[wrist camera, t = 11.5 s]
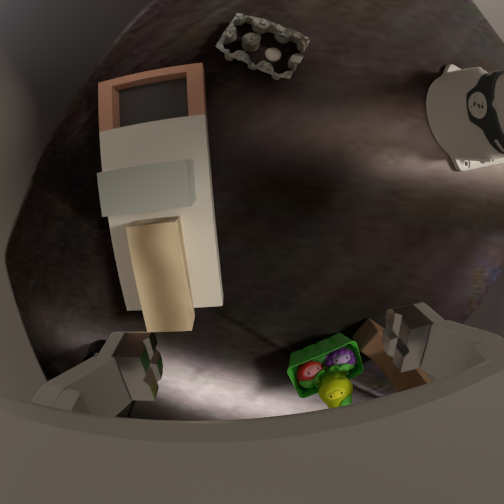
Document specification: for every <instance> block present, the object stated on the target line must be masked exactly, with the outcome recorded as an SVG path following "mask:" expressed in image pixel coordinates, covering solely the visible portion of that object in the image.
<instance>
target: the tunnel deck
mask: <svg viewBox="0 0 504 504" xmlns="http://www.w3.org/2000/svg"><path fill="white" fill-rule="evenodd" d="M98 110H99V135H100V151H101V163H102V172H100V173H97V180H98V189H99V197H100V205H101V212H102V217H106V216H108V220H109V227H110V233H111V239H112V244H113V250H114V255H115V260H116V265H117V270H118V274H119V279H120V283H121V288H122V292H123V296H124V300H125V304H126V308H127V311H131V310H142V307H141V303H140V299H139V294H138V290H137V285H136V281H135V276H134V271H133V266H132V261H131V255H130V250H129V244H128V238H127V232H126V227H127V226H128V225H130V224H131V223H133V222H134V221H136V220H143V219H152V218H161V217H171V216H181V221H182V229H183V237H184V245H185V253H186V260H187V267H188V274H189V280H190V287H191V293H192V300H193V306H194V308H196V307H212V306H223V290H222V281H221V272H220V262H219V253H218V243H217V233H216V222H215V211H214V200H213V189H212V177H211V164H210V151H209V137H208V122H207V106H206V89H205V69H204V66H203V63H195V64H187V65H180V66H174V67H168V68H162V69H156V70H151V71H146V72H141V73H136V74H132V75H127V76H123V77H119V78H115V79H111V80H107V81H103V82H100V83H98Z"/></svg>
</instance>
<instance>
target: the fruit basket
mask: <svg viewBox="0 0 504 504" xmlns="http://www.w3.org/2000/svg"><path fill="white" fill-rule="evenodd" d="M362 372H363V365H362V361H361V357H360V353H359V350H358V346H357V343H356V342H355V341H353V340H350V339H349V338H347V337H346V336H344V335H343V334H341V333H337V334H335V335H333V336H331V337H330V338H326V339H324V340H321V341H319V342H318V343H316V344H312V345H310V346H307V347H305V348H303V349H302V350H298V351H295V352H292V353H291V355H290V362H289V366H288V369H287V373H288V375H289V377H290V379H291V381H292V383H293V385H294V387H295V389H296V391H297V393H298V395H299V397H301V398H305V397H308V396H311V395H313V394H316V393H318V392H319V396H320V398H321V399H322V401H323V402H325V403H326V404H327V406H328V407H329V408H335V407H340V406H345V405H349V404H352V396H351V394H352V390H353V387H352V383H351V382H350V380H349V379H351V378H353V377H355V376H357V375H359V374H361V373H362Z"/></svg>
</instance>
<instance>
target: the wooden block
mask: <svg viewBox="0 0 504 504" xmlns="http://www.w3.org/2000/svg"><path fill="white" fill-rule="evenodd" d="M383 330H384V328H382V327H381V326H380V325H378V324H377V323H375V322H374V321H373V320H371V319H367V320H366V321H365V322H364V323H363V324H362V326H361V327H360V328H359V329H358V330H357V331H356V332H355V334H354V335H353V336H352V339H353V340H354V341H355V342H356V343H357V346H358V348H359V350H360V352H362V353H363V354H365V355H366V356H368V357H369V358H371V359H372V360H373V361H374V362H375V363H376V364H377V365H378V366H379V367H380V368H381V369H382V371H383V372H384V373H385V374H386V376H387V377H388V379H389V381H390V382H391V384H392V385H393V387H394V388H395V390H396V392H397V393H398V392H401V391H404V390H408V389H411V388H414V387H417V386H421V385H424V384H427V383H430V382H432V380H431V379H430V378H429V376H428V375H427V374H426V373H425V371H423V370H421V369H420V368H417V369H413V370H409V371H405V372H401V373H400V371H399V370H398V369H397V367H396V366H395V364H394V363H393V358H394V357H392V356H389V355H387V353H386V352H385V350H384V348H383V343H382V335H383Z"/></svg>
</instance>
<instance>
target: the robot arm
mask: <svg viewBox="0 0 504 504" xmlns="http://www.w3.org/2000/svg"><path fill="white" fill-rule="evenodd" d="M426 111H427V117H428V122H429V125H430V128H431V130H432V133H433V135H434V137H435V139H436V140H437V142H438V143H439V145H440V146H441V147H442V148H443V149H444V150H445V151H446V152H447V153H448V155H449V156H450V158H451V160H452V162H453V165H454V167H455V168H456V170H457V171H467V170H472V169H477V168H482V167H487V166H492V165H497V164H502V163H504V71H492V72H490V73H488V72H486V71H485V70H483V69H482V68H481V67H474V68H467V69H460V68H458V67H456V66H455V65H447V66H446V67H445V69H444V72H443V74H442V75H441V76H440V77H438V78H437V79H436V80H434V81H433V83H432V84H431V85H430V87H429V90H428V93H427V98H426ZM385 321H386V323H387V326H386V328H385V329H384V330H383V335H382V343H383V348H384V350H385V352H386V353H387V355H389V356H392V357H394V358H393V363H394V364H395V366H396V367H397V369H398V370H399V371H400V373H401V372H405V371H409V370H413V369H417V368H420V369H421V370H423V371H425V372H427V373H429V374H431V375H432V376H434V377H436V378H438V380H435V381H432V382H430V383H427V384H424V385H421V386H417V387H414V388H411V389H408V390H404V391H401V392H398V393H394V394H390V395H387V396H383V397H379V398H375V399H371V400H367V401H363V402H358V403H354V404H349V405H345V406H340V407H335V408H329V409H324V410H318V411H312V412H305V413H299V414H291V415H284V416H275V417H265V418H254V419H241V420H222V421H162V420H143V419H130V418H120V417H115V416H116V415H117V414H118V413H120V412H121V411H122V410H123V409H124V408H125V407H126V406H127V405H128V404H129V403H130V402H131V400H146V401H155V398H156V395H157V391H158V388H159V387H158V384H157V382H158V381H159V380H160V379H161V377H162V372H163V364H162V358H161V354H160V353H159V352H158V351H157V350H156V349H155V348H156V345H157V339H156V336H155V334H154V333H153V332H112V333H111V335H110V336H109V338H108V339H107V341H106V343H105V344H104V346H103V347H102V349H101V351H100V352H99V354H98V356H97V357H91V358H90V359H88V360H86V361H84V362H82V363H81V364H79V365H77V366H75V367H73V368H71V369H70V370H68V371H66V372H64V373H62V374H61V375H59V376H57V377H55V378H53V379H51V380H50V381H48V382H46V383H44V384H43V385H42V386H41V388H40V389H39V391H38V392H37V394H36V395H35V397H34V398H33V400H32V401H31V402H27V401H23V400H19V399H16V398H12V397H9V396H6V395H2V394H0V504H504V339H503V338H502V337H500V336H499V335H497V334H494V333H490V332H487V331H484V330H480V329H476V328H473V327H470V326H466V325H463V324H460V323H456V322H453V321H449V320H448V321H445V320H444V319H443V318H442V317H440V316H439V315H438V314H437V313H436V312H435V311H433V310H432V309H431V308H430V307H429V306H428V305H426V304H425V303H422V302H420V303H416V304H412V305H408V306H403V307H399V308H394V309H389V310H387V313H386V316H385Z"/></svg>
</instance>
